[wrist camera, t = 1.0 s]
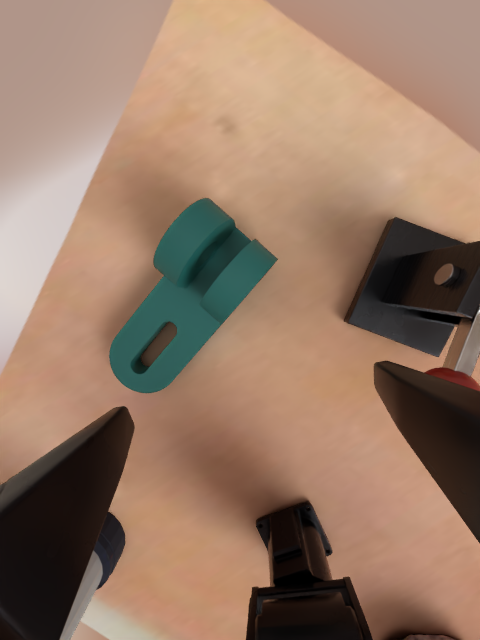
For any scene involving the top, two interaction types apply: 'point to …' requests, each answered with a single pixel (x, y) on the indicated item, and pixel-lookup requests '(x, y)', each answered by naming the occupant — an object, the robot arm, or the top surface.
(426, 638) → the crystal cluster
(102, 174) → the top surface
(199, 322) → the bracket
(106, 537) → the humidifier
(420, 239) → the bracket
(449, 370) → the lever
